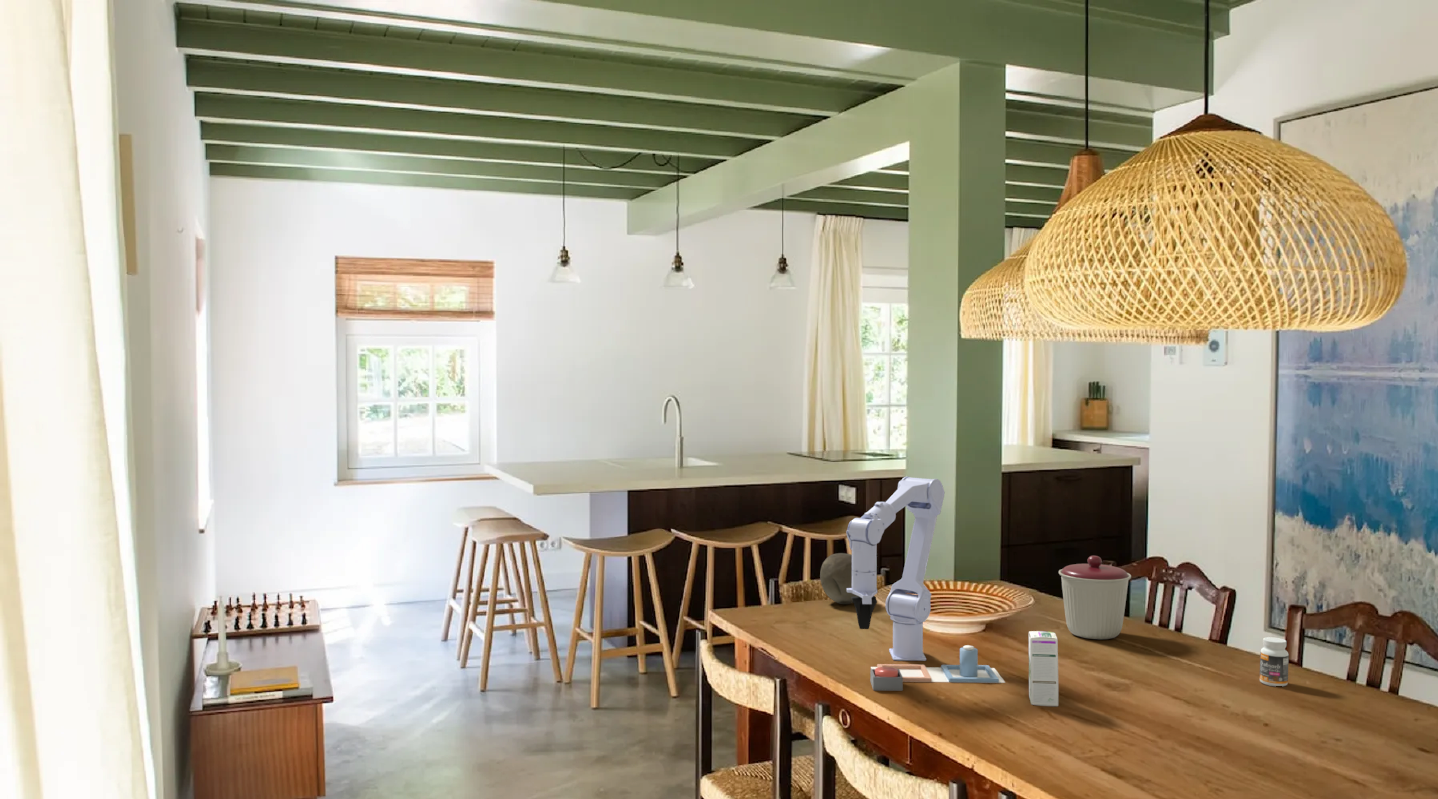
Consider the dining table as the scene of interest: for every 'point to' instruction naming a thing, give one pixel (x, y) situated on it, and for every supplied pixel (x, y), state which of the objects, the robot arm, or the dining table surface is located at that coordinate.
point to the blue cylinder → (968, 661)
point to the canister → (1094, 598)
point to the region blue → (969, 679)
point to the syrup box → (1043, 668)
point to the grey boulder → (837, 577)
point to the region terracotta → (910, 666)
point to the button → (886, 672)
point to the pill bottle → (1274, 662)
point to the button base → (886, 682)
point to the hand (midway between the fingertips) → (864, 628)
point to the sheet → (939, 675)
